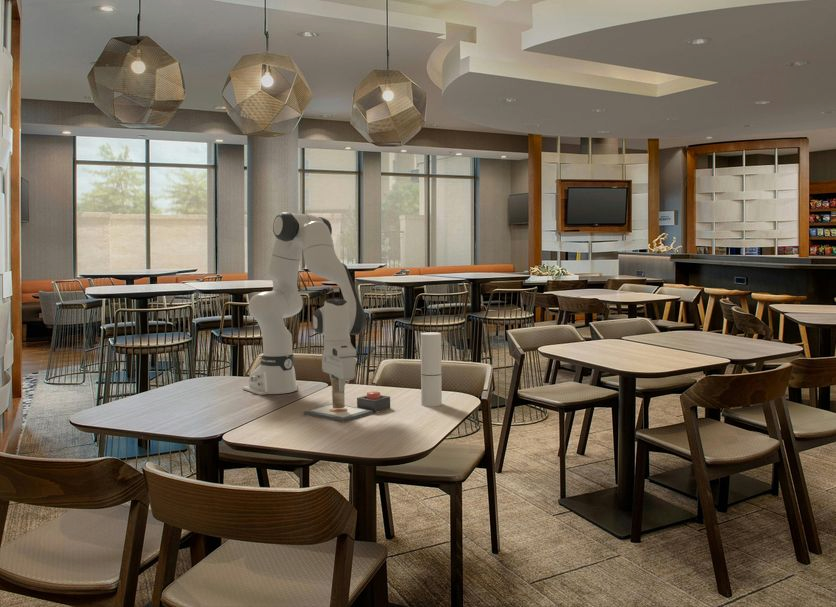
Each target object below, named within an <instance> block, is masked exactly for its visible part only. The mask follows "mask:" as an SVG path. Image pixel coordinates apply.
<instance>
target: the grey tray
mask: <svg viewBox="0 0 836 607" xmlns="http://www.w3.org/2000/svg"><path fill="white" fill-rule="evenodd" d="M303 413H304V415H306V416H311V417H316V418H321V419H326V420H330V421H331V420H332V421H336V422H339V423H340V422H341V423H345V422H349V421H352V420H356V419H358V418H362V417H365V416H369V415H372V414H374V413H373V410H368V409H362V408H357V406H349V405H346V404H345V407H344V408H333V405H332V403H330V404H327V405H322V406H319V407H315V408H310V409H307V410H303Z"/></svg>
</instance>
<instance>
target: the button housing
mask: <svg viewBox="0 0 836 607" xmlns="http://www.w3.org/2000/svg"><path fill="white" fill-rule="evenodd" d="M356 407H357V408H362V409H368V410H373V414H374V413H375V414H376V413H378V412H383V411H386V410H388V409H391V396H388V395H383V394H380V398H379V399H376V400H372V399H367V394H366V395H363V396H359V397H357V398H356ZM382 410H383V411H382Z"/></svg>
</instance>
